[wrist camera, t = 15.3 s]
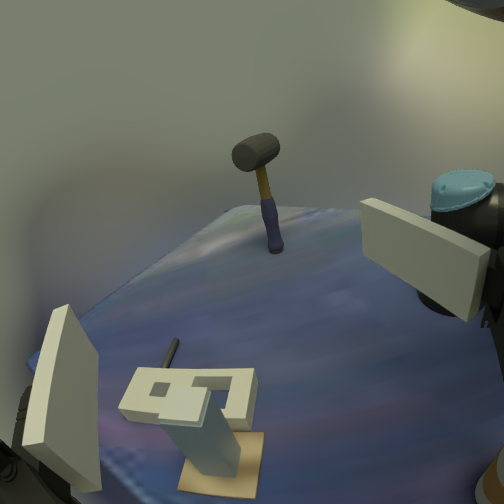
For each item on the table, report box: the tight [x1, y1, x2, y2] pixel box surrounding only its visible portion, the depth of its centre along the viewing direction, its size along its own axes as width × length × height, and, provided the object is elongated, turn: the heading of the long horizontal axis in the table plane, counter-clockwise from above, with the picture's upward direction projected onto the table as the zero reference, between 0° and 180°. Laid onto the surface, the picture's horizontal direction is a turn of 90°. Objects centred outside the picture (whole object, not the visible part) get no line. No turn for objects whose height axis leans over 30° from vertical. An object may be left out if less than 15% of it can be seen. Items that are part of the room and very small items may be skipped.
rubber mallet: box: [232, 133, 284, 253], centre depth 77 cm, size 12×8×30 cm, turn 152°
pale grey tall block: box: [158, 386, 241, 478], centre depth 31 cm, size 4×4×14 cm
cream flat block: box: [118, 338, 259, 431], centre depth 48 cm, size 19×20×4 cm
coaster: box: [177, 432, 265, 499], centre depth 35 cm, size 10×10×1 cm
